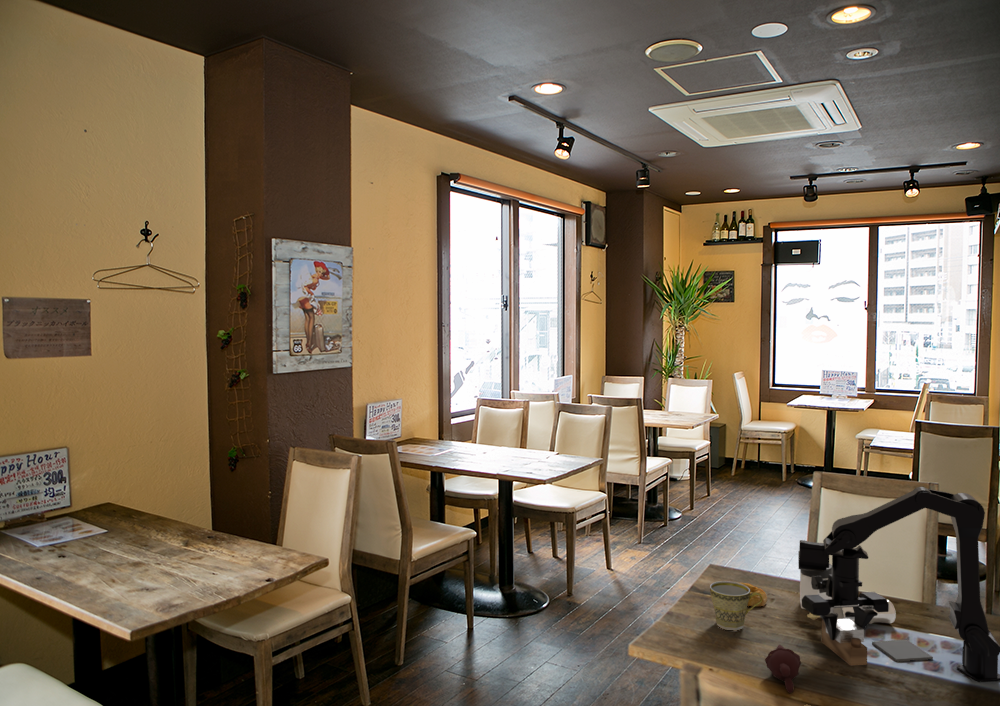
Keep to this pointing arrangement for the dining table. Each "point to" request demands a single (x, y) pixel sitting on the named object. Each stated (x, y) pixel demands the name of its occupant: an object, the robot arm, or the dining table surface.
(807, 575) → the jar
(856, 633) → the square block
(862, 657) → the plane body
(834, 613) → the lever
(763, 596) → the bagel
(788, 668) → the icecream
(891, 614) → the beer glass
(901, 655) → the mat
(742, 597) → the ceramic cup
